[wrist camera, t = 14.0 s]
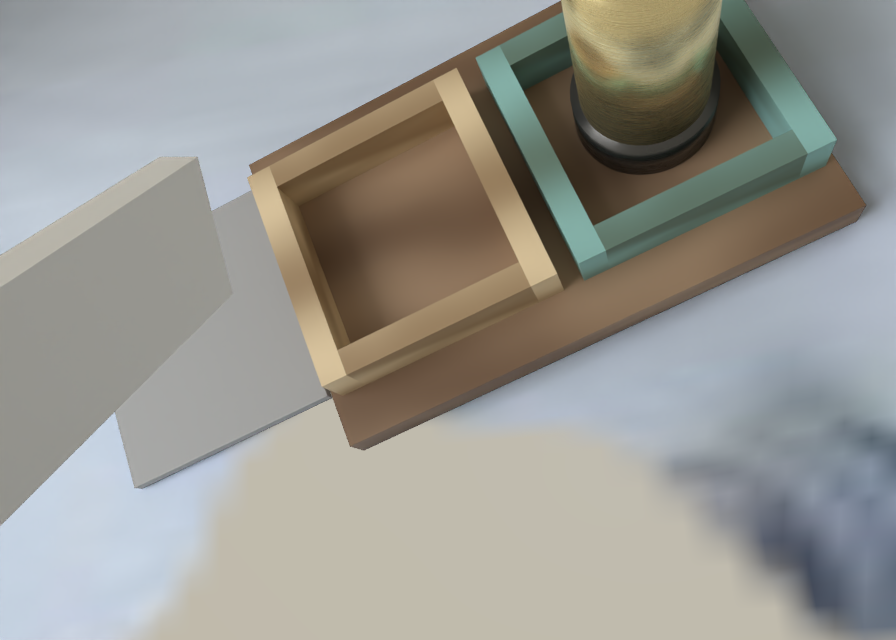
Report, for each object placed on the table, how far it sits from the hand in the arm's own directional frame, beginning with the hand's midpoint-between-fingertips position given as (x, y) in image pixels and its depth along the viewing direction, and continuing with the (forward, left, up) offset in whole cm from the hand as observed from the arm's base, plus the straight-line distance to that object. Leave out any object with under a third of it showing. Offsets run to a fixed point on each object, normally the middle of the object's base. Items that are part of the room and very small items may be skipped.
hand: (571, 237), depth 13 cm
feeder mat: (-10, -15, -18) cm, 25 cm away
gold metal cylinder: (-9, +5, -16) cm, 19 cm away
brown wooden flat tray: (-9, 0, -18) cm, 20 cm away
